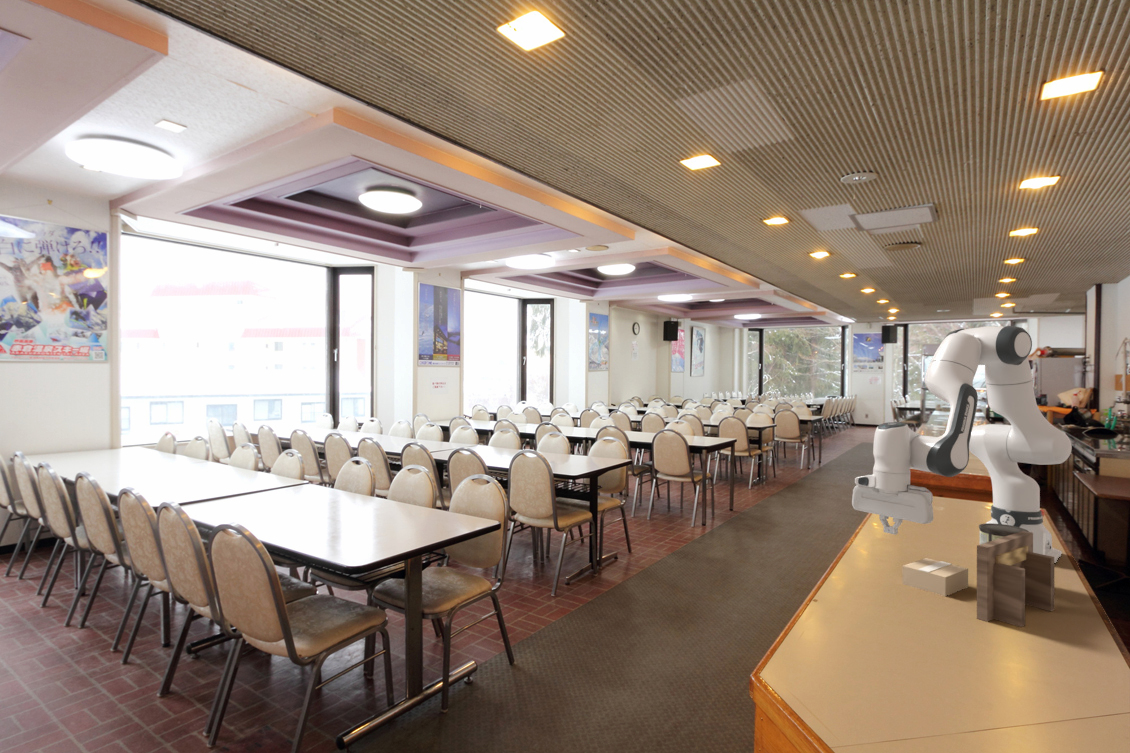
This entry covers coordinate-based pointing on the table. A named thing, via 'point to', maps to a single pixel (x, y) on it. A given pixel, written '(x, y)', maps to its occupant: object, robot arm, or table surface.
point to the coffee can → (996, 531)
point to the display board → (1013, 579)
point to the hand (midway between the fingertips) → (890, 533)
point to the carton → (935, 576)
